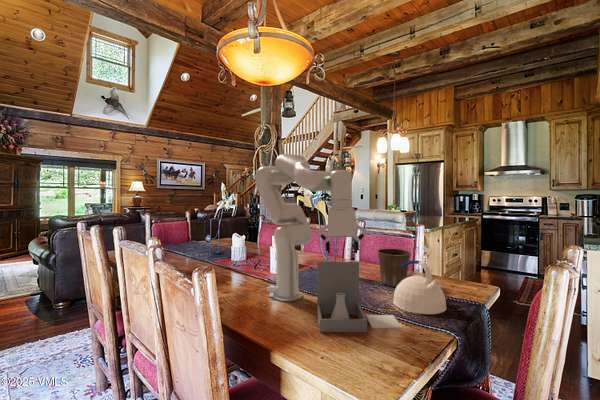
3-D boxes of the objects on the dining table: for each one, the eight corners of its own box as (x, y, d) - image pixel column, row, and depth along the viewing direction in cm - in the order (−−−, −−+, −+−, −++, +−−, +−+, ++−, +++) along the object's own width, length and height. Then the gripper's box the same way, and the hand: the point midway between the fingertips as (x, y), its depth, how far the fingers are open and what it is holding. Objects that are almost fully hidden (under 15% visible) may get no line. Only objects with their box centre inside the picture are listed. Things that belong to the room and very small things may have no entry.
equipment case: (319, 331, 102) (319, 272, 101) (317, 312, 118) (317, 261, 118) (367, 332, 102) (367, 272, 101) (358, 312, 118) (358, 261, 117)
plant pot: (415, 288, 147) (415, 254, 146) (381, 288, 147) (381, 254, 147) (404, 279, 163) (404, 248, 163) (373, 278, 163) (373, 248, 163)
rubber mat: (371, 328, 104) (371, 326, 104) (365, 316, 114) (365, 315, 114) (401, 328, 104) (401, 327, 104) (393, 316, 114) (393, 315, 114)
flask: (337, 328, 105) (337, 298, 104) (326, 320, 111) (326, 292, 111) (354, 324, 108) (355, 295, 108) (342, 316, 114) (342, 289, 114)
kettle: (418, 318, 113) (418, 269, 112) (382, 300, 132) (383, 257, 131) (459, 310, 120) (459, 264, 120) (420, 294, 140) (420, 254, 139)
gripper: (317, 205, 108) (318, 254, 108) (367, 204, 107) (368, 254, 107) (317, 205, 115) (317, 251, 115) (364, 204, 114) (365, 250, 114)
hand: (342, 252), depth 111 cm, fingers open, 9 cm apart
